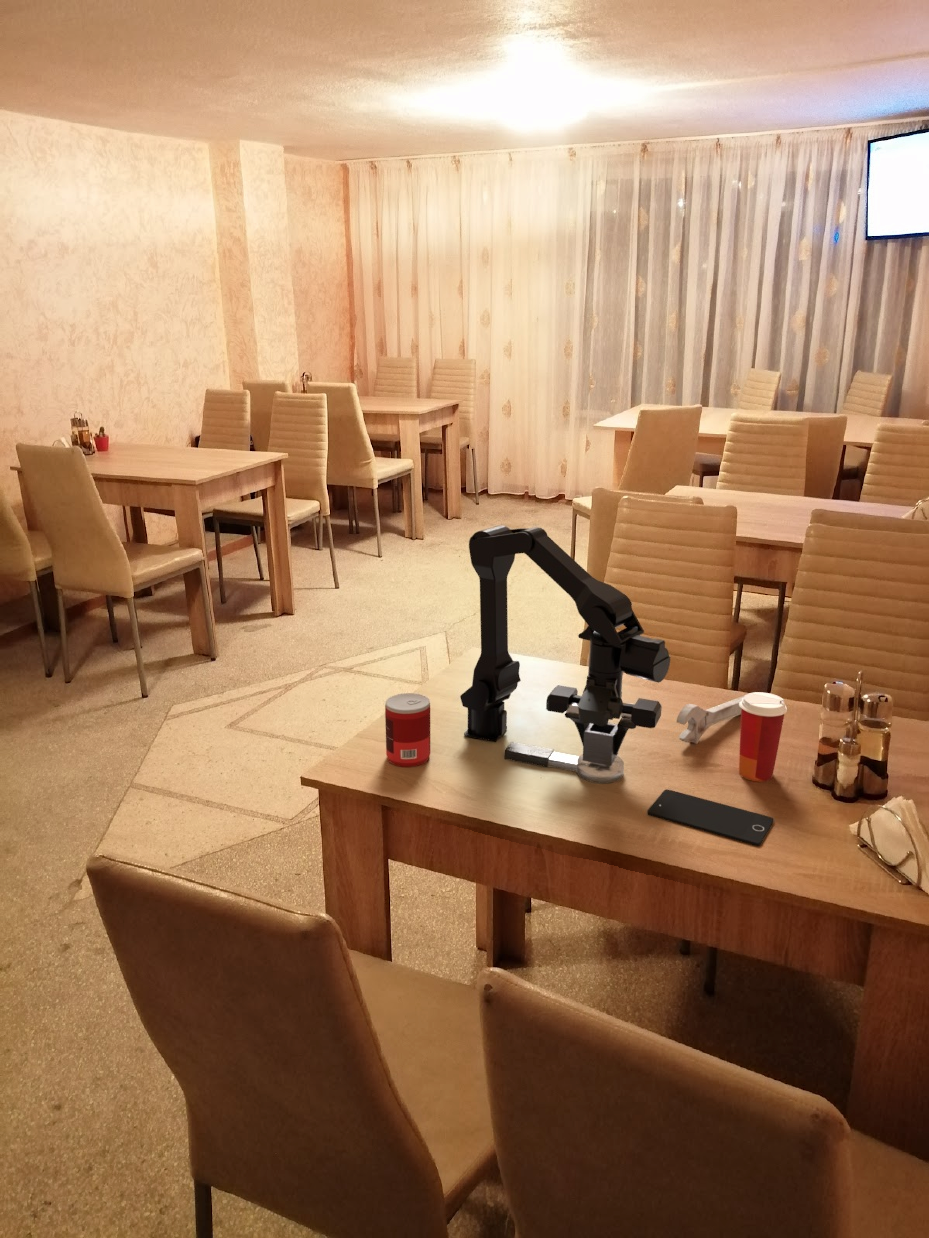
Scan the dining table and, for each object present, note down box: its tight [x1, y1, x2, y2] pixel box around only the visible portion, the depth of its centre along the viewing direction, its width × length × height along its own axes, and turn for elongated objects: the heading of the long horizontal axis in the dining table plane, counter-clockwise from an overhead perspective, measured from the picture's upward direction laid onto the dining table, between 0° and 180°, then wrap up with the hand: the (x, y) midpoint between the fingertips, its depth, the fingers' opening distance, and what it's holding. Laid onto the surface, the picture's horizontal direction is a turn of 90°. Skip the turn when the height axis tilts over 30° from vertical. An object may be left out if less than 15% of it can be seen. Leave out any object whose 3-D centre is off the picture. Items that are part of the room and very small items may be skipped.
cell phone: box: [646, 789, 774, 847], centre depth 150 cm, size 9×18×1 cm, turn 59°
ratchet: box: [503, 741, 625, 784], centre depth 166 cm, size 21×8×5 cm, turn 68°
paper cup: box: [738, 691, 788, 782], centre depth 162 cm, size 8×8×14 cm
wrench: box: [676, 695, 745, 745], centre depth 181 cm, size 8×2×30 cm
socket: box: [582, 722, 619, 766], centre depth 162 cm, size 5×5×6 cm
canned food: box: [384, 692, 431, 768], centre depth 167 cm, size 8×8×11 cm
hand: (600, 751), depth 163 cm, fingers closed on socket, 5 cm apart
